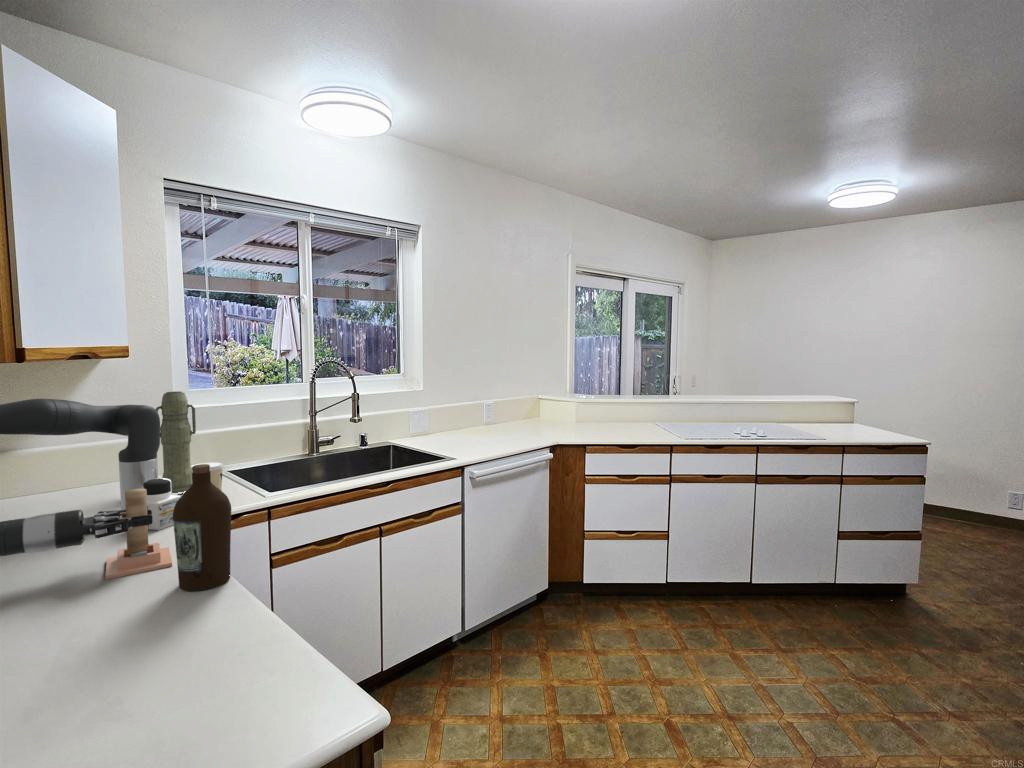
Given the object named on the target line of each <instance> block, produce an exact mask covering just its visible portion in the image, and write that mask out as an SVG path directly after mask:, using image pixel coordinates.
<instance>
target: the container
mask: <svg viewBox="0 0 1024 768" xmlns="http://www.w3.org/2000/svg"><path fill="white" fill-rule="evenodd" d="M143 489H147V510H151V511H152V524H150V525H148V530H150V531H151V530H154V531H160V530H163V529H167V528H168V527H171V526H174V525H173V520H172V518H173V511H174V507H175V504H176V502H177V501H178V500H179V498H180V497H181V496H180V495H170V494H172V489H171V480H170V479H166V478H162V477H160V478H159V477H158V478H157V479H151V480H148V481H146V482H144V484H143Z"/></svg>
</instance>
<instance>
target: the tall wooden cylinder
mask: <svg viewBox="0 0 1024 768" xmlns="http://www.w3.org/2000/svg"><path fill="white" fill-rule="evenodd" d="M125 505H126V517H135V516H142V515H147V489H132V490H128V491H126V492H125ZM125 533H126V548H127V557H130V556H131V554H133V553H138V552H144V551H147V553H149V547H148V544H149V529H148V525H144V526H138V527H133V526H132V528H131V529H128V531H127V532H125Z"/></svg>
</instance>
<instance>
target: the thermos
mask: <svg viewBox="0 0 1024 768" xmlns="http://www.w3.org/2000/svg"><path fill="white" fill-rule="evenodd" d="M188 402H189V401H188V398H187V396H186V393H185V392H183V391H166V392H164V393H163V396H162V397H161V402H160V403H161V404H160V405H159V406H157V407H156V408H154V409H155V410H156V411H157V412H158V413H159V410H161V416H162V419H161V424H160V445H162V460H163V464H162V465H163V474H162V477H161V478H166V479H170V480H171V489H172V493H178V492H184V491H187V490H188V489H189V488H190V487H191V485H192V483H191V473H190V468H191V447H190V445H191V444H190V443H191V442H192V436H193V435H195V434H196V430H197V428H196V425H197V424H196V423H197V422H196V408H195V407H194V406H193V404H189V403H188ZM189 408H191V418H192V419H191V421H192V422H191V423H192V424H190V422H189V417H188V414H189ZM191 425H192V430H191Z"/></svg>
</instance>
